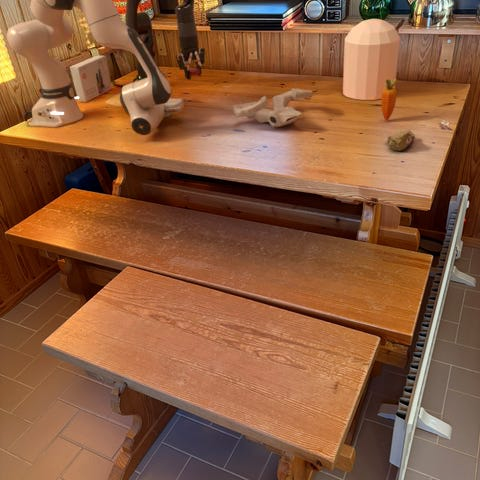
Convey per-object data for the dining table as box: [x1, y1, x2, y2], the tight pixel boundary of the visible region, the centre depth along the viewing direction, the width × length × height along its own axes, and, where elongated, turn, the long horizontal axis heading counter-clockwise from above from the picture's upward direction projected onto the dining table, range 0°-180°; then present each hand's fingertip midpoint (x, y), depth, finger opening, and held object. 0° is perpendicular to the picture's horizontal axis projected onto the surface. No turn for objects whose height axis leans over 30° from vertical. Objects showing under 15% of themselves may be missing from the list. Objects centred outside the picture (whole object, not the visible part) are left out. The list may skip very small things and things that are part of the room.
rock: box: [387, 129, 416, 152], centre depth 146 cm, size 11×6×10 cm
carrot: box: [380, 78, 398, 122], centre depth 161 cm, size 5×5×15 cm
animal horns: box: [231, 88, 314, 128], centre depth 171 cm, size 28×26×12 cm
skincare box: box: [69, 54, 113, 103], centre depth 218 cm, size 21×6×16 cm, turn 158°
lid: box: [189, 67, 200, 77], centre depth 192 cm, size 6×6×2 cm
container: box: [342, 18, 401, 101], centre depth 185 cm, size 21×21×28 cm
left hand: (162, 99), depth 188 cm, fingers closed on jar, 5 cm apart
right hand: (193, 77), depth 193 cm, fingers closed on lid, 5 cm apart
